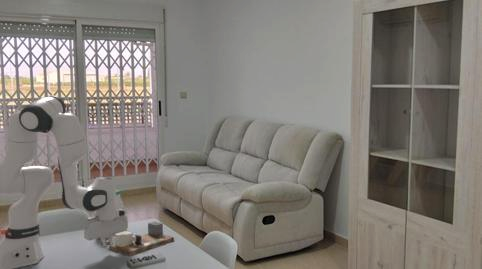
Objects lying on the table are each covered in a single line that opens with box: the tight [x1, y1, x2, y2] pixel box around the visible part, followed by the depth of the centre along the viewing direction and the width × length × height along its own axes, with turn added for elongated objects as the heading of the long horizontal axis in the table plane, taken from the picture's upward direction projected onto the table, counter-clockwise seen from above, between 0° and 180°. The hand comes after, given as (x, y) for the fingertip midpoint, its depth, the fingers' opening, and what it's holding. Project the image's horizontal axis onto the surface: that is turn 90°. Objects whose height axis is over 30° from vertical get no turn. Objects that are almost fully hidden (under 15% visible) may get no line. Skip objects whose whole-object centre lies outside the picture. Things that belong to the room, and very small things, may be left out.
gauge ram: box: [114, 230, 136, 247], centre depth 207 cm, size 8×8×5 cm
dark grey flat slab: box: [134, 234, 144, 245], centre depth 207 cm, size 1×5×4 cm, turn 51°
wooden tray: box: [108, 233, 175, 257], centre depth 212 cm, size 26×14×2 cm, turn 141°
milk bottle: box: [115, 189, 125, 210], centre depth 236 cm, size 8×8×20 cm
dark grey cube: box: [147, 221, 164, 237], centre depth 222 cm, size 4×6×6 cm, turn 51°
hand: (107, 245), depth 200 cm, fingers closed
